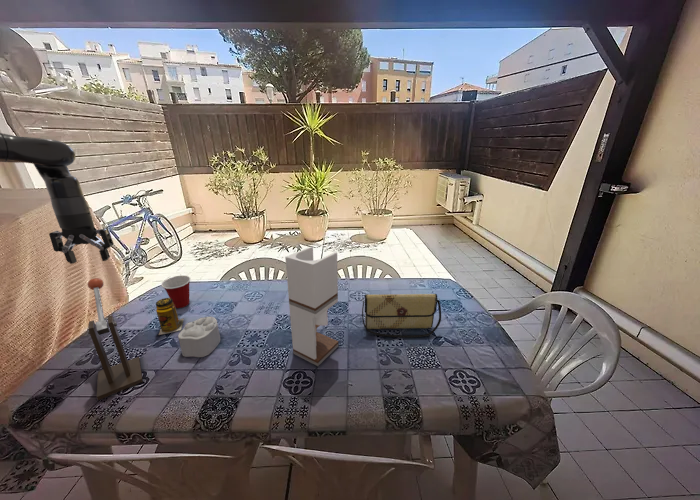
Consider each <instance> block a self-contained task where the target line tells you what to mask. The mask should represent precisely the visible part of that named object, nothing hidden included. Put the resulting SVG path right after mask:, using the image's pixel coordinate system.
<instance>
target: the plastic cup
mask: <svg viewBox="0 0 700 500" xmlns="http://www.w3.org/2000/svg"><path fill="white" fill-rule="evenodd" d="M190 282H191V277H190V276H189V275H175V276H172V277H169V278H166V279H165V280H163V281H162V282H161V284H160V285H161V287H162V288H163V289H164V290H165V292H166V293H167V296H168V298H171V299H172V300H173V304H174V305H175V307H176V309H181V308H182V309H183V308H185V307H187V306H188V305H189V304H190Z"/></svg>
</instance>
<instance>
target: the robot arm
mask: <svg viewBox="0 0 700 500" xmlns="http://www.w3.org/2000/svg"><path fill="white" fill-rule="evenodd" d="M75 160H76V152H75V150H73V148H72V147H71V146H69V145H68V144H66V143H65V142H62V141H60V140H56V139H50V138H49V139H48V138H41V137H29V136H20V135H13V134H7V133H3V132H0V163H9V164H10V163H11V164H15V163H16V164H18V163H21V164H22V163H23V164H33V166H34V168H35V169H36V171H37V172H38V175H39V176H40V177H41V178H42V181H44V184H45V187H46V190H47V192H48V195H49V198H50V204H51V207H52V210H53V212H54V216H55V218H56V221H57V223H58V226H59V228H60V230H61V231H59V230H54V231H52V232H49V233H48V235H49V239H50V242H51V245H52V248H53V249H52V250H53V251H54V252H61V253H62V254H63V255H64V258H65V260H66V262H67V263H69V265H73V264H75V263H77V261H78V260H77V258H76V254H75V252H74V250H73V249H74V247H75V246H79V245H91V246H92V247H96V248H97V249H98V251H99V254H100V258H101V260H102V262H107V261H108V260H109V258H110V257H111V256H110V253H109V252H110V251H109V249H110V248H111V247H112V246H114V245H115V243H114V241H113V237H112V235H111V233H110V231H109V228H107V227H104V228H99V229H97V228H96V227H95V223H94V220H93V217H92V215H91V214H92V213H91V210H90V207H89V204H88V202H87V200H86V197H85V195H84V193H83V189H82V187H81V184H80V181H79V179H78V178H77V177H76V176H74V175H72V174H71V172H70V170H69V168H68V166H70V165H72V164H73V163H74V162H75ZM97 235H98V236H100V237H101V238H99V237H98V236H97ZM62 238H64V239H66V241H65V243H64V241H63V239H62Z"/></svg>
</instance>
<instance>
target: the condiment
mask: <svg viewBox="0 0 700 500" xmlns="http://www.w3.org/2000/svg"><path fill="white" fill-rule="evenodd" d="M155 306H156V311H155V312H156V315H157V319H158V322H159V325H160V330H159V333H158V336H160V335H166V334H170V333H175V332H179V331H182V329H183V323H184V320H185V319H184V318H180V319H179V315H178V312H177V308H176V307H175V305H174V304H173V300H172V299H171V298H169V297H164V298H161V299H158V300H157V301H156V302H155Z"/></svg>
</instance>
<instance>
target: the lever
mask: <svg viewBox="0 0 700 500" xmlns="http://www.w3.org/2000/svg"><path fill="white" fill-rule="evenodd" d="M104 284H105V283H104V281H103V279H102V278H99V277H94V278H91V279H89V280H88V282H87V287H88V289H90V290H92V291H93V293H94V299H95V300H94V301H95V307H96V313H97V320H98V321H97V322H96V321H95V325H96V328H97V332H98V334H99V336H101V335H104V334H105V335H106V334H107V333H111V331H110V328H109V325H108V320H107V319H105V315H104V309H103V303H102V295H101V291H100V290H101V289H102V288H103V287H104Z"/></svg>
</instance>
